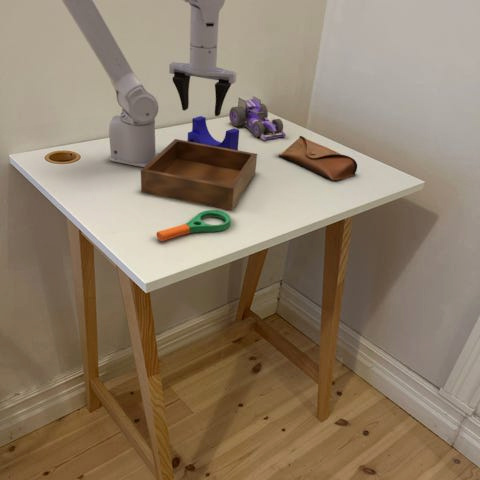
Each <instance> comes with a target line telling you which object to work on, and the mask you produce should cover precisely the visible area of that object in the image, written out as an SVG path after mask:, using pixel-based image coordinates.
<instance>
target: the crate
mask: <svg viewBox="0 0 480 480" xmlns="http://www.w3.org/2000/svg"><path fill="white" fill-rule="evenodd" d="M158 153H159V154H158V155H157V156H156V157H155V158H154V159H153V160H152V161H150V162H149V163H148V164H147V165H146V166H145V167H142V168H141V169H140V186H141V187H140V188H141V193H144V194H147V195H148V194H149V195H154V196H157V197H158V196H159V197H163V198H169V199H174V200H179V201H183V202H189V203H194V204H199V205H204V206H208V207H214V208H218V209H223V210H229V211H233V210H234V208H235V206H236V205H237V203H238V202H239V200H240V199H241V197H242V196H243V194H244V192H245V191H246V189H247V188H248V186H249V184H250V183H251V181H252V180H253V178H254V176H255V175H256V170H257V160H258V153H255V152H249V151H244V150H239V149H238V150H233V149H228V148H222V147H217V146H211V145H206V144H200V143H195V142H189V141H188V140H183V139H177V138H175V139H173V140H172V141H171V142H170V143H169V144H168V145H167V146H166V147H165V148H164V149H162V150H161V151H160V152H158Z"/></svg>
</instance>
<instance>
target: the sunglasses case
mask: <svg viewBox="0 0 480 480" xmlns="http://www.w3.org/2000/svg"><path fill="white" fill-rule="evenodd" d="M278 156H279V157H282V158H284V159H286V160H289V161H290V162H293V163H294V164H297V165H299V166H301V167H302V168H305V169H306V170H308V171H310V172H312V173H315V174H317V175H318V176H321V177H323V178H326V179H329V180H332V181H342V180H346V179H349V178H352V177H354V176H355V175H356V172H357V170H358V163H357V161H356V159H354V158H353V157H351V156H349V155H345V154H342V153H339V152H337V151H335V150H334V149H331V148H329V147H328V146H327V147H326V146H324V145H322V144H320V143H317V142H314V141H312V140H310V139H307V138H306V137H304V136H303V135H299V138H298V139H296V140H295V141H294V142H293V143H292V144H290V145H289V146H288V147H287V148H286V149H285V150H284V151H283V152H281V153H279V154H278Z"/></svg>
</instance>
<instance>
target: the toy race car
mask: <svg viewBox="0 0 480 480" xmlns="http://www.w3.org/2000/svg"><path fill="white" fill-rule="evenodd" d="M237 104H238V105H237V106H231V108H230V110H229V114H228V115H229V116H228V117H229V121H230V123H231V125H232V126H233V127H240V126H244V125H245V128H246V129H248V130H249V131H250V132H251V133H252V135H253V137H255V138H260V139H261V140H262V141H265V142H266V140H269V139H276V138H281V137H282V138H286V132H284V123H283V121H282V119H280V118H275V119H272V120H270V119H268V116H269V112H268V107H267V106H266V104H265V103H262V101H261V99H260V98H258V97H256V96H254V95H253V96H252V98H250V99H243V98H241V97H238V102H237ZM265 133H271V134H266V135H265Z"/></svg>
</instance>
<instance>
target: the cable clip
mask: <svg viewBox="0 0 480 480" xmlns="http://www.w3.org/2000/svg"><path fill="white" fill-rule="evenodd" d="M191 121H192V123H191V124H192V125H191V126H192V127H191V131H189V132H187V141H189V142H195V143H200V144H206V145H211V146H217V147H222V148H228V149H233V150H238V151H239V141H240V129H238V128H235V127H234V128H233V127H232V128H231V129H228V130H226V131H225V135H224V138H223V140H222V141H218V140H217V139H215V138H214V137H213V136H212V134H211V132H210V131H209V129H208V126H207V119H206V117H205V116H202V115H199V116H197V117H193V118H192V120H191Z"/></svg>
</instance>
